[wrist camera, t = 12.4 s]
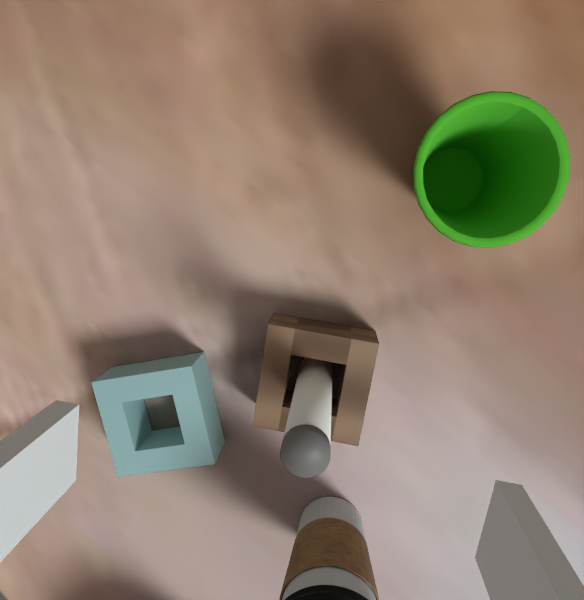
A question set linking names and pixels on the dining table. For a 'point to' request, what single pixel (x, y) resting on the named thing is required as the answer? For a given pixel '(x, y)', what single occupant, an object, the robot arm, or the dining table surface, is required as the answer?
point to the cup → (491, 169)
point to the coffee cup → (330, 555)
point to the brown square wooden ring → (322, 346)
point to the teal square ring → (135, 422)
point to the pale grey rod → (309, 421)
